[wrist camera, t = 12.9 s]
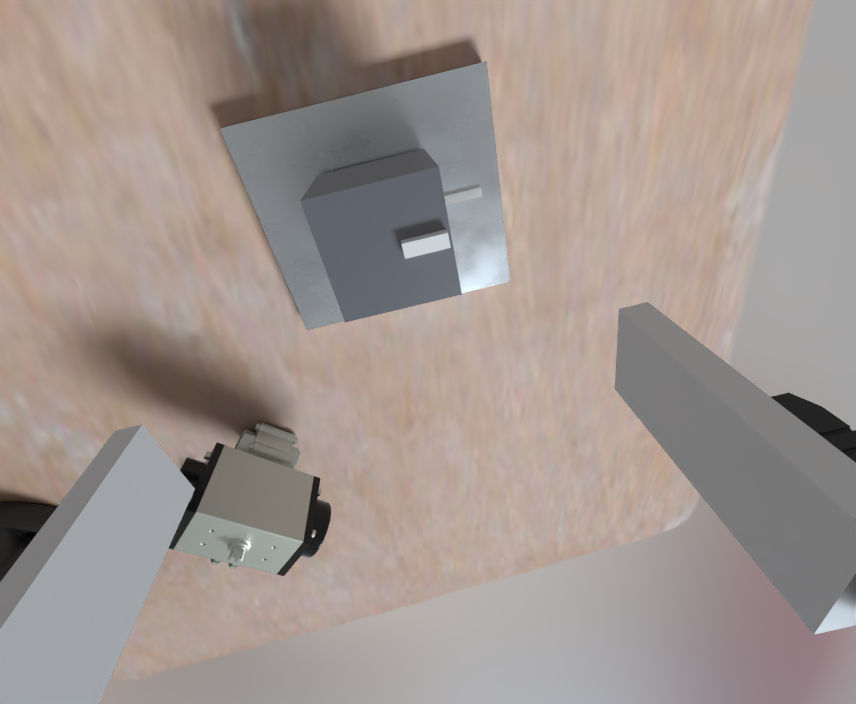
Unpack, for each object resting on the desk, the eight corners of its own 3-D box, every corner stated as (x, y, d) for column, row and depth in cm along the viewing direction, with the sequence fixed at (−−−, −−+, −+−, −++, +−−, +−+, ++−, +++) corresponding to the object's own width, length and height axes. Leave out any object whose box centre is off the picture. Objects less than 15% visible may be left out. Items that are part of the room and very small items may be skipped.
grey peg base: (309, 322, 33) (294, 375, 27) (225, 126, 25) (178, 138, 19) (505, 275, 32) (535, 318, 26) (482, 62, 25) (516, 53, 19)
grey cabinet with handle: (351, 275, 29) (344, 327, 23) (317, 175, 25) (298, 203, 19) (444, 252, 29) (463, 298, 23) (424, 148, 25) (440, 168, 19)
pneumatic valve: (217, 396, 36) (155, 518, 26) (339, 444, 40) (327, 563, 30) (195, 438, 38) (130, 564, 28) (313, 478, 42) (293, 600, 32)
